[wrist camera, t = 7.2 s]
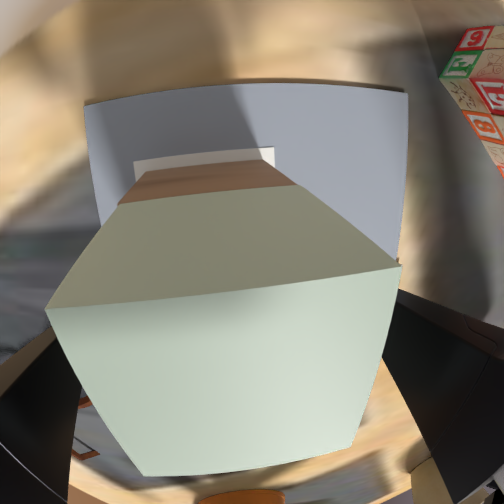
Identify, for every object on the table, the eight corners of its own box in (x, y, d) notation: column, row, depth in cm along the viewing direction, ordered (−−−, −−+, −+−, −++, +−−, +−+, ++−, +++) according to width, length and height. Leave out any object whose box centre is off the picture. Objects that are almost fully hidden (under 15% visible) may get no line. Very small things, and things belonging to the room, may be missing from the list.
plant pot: (450, 456, 47) (479, 505, 33) (393, 489, 47) (418, 542, 33) (463, 430, 41) (500, 489, 26) (395, 471, 41) (427, 537, 26)
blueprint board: (379, 352, 24) (381, 355, 24) (153, 389, 22) (152, 393, 21) (412, 94, 15) (416, 94, 15) (85, 106, 13) (83, 106, 13)
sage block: (297, 327, 13) (350, 446, 8) (154, 345, 12) (143, 476, 7) (300, 184, 10) (402, 266, 5) (119, 203, 10) (44, 308, 4)
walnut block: (266, 263, 18) (295, 328, 13) (163, 275, 18) (151, 345, 12) (262, 159, 16) (297, 184, 10) (145, 171, 15) (116, 203, 10)
